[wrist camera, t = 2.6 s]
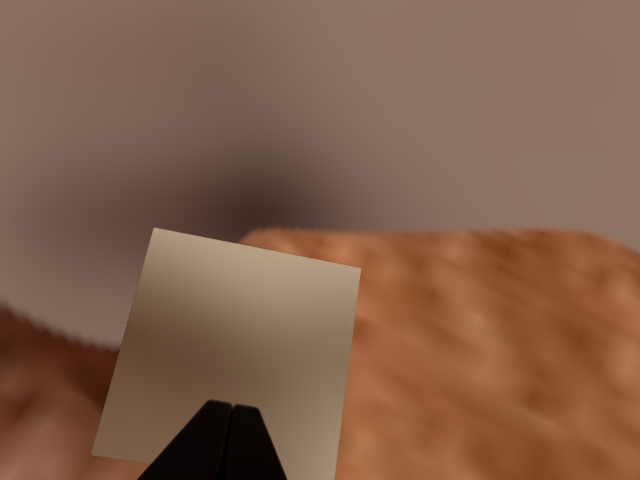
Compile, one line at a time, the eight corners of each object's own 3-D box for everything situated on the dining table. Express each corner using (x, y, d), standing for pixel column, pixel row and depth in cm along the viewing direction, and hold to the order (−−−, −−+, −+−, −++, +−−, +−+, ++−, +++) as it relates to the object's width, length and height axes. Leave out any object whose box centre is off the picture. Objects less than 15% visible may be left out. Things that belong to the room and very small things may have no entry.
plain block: (288, 470, 19) (332, 491, 12) (141, 448, 19) (90, 454, 11) (310, 328, 21) (361, 268, 13) (177, 304, 20) (153, 227, 13)
